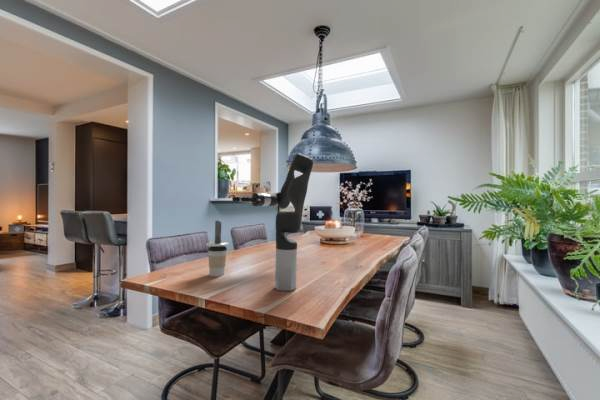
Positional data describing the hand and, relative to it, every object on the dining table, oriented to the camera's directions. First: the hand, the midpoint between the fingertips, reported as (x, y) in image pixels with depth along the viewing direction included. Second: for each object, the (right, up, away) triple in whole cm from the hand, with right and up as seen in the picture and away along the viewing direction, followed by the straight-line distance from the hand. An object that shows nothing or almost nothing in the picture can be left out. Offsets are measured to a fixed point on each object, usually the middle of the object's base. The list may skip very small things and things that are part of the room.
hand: (237, 199), depth 153 cm
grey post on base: (-8, -23, -8) cm, 26 cm away
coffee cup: (-9, -38, -8) cm, 40 cm away
